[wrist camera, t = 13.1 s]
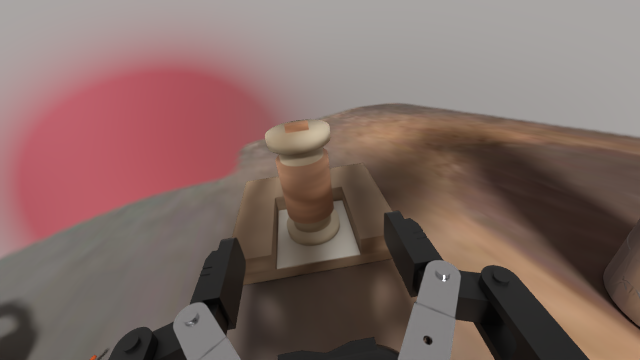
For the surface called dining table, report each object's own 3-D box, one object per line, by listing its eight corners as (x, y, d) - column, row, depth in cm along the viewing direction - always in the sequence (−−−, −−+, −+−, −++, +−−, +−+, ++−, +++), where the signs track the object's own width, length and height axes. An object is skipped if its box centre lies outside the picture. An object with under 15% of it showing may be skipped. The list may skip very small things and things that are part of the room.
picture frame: (363, 182, 36) (363, 162, 35) (402, 256, 24) (404, 231, 23) (252, 200, 36) (246, 181, 34) (235, 286, 24) (225, 262, 22)
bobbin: (334, 207, 30) (323, 109, 24) (344, 240, 25) (333, 128, 19) (288, 215, 30) (265, 119, 24) (288, 250, 25) (260, 140, 19)
